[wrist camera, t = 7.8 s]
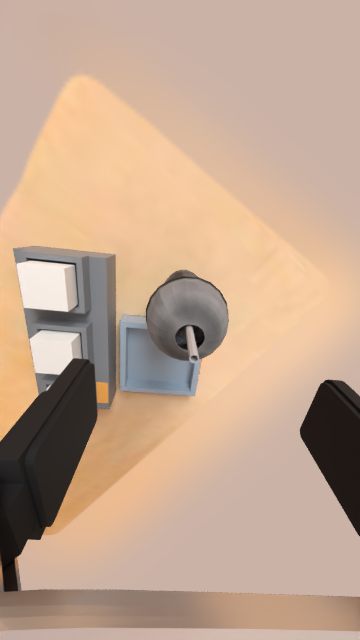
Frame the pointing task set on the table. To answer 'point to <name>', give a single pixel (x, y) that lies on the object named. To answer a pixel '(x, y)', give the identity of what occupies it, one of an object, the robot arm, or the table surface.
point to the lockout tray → (151, 363)
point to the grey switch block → (70, 313)
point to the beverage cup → (187, 317)
